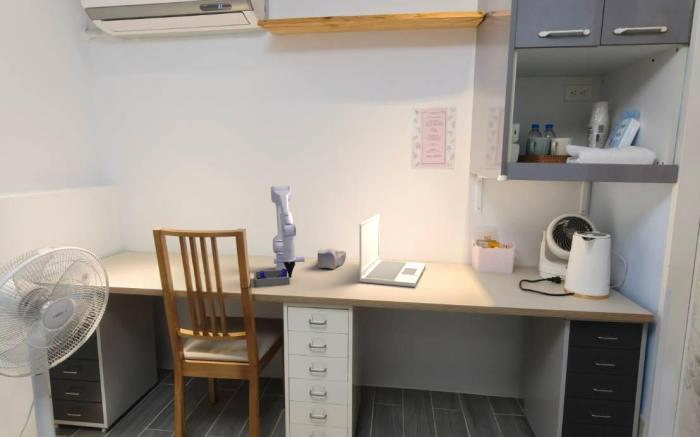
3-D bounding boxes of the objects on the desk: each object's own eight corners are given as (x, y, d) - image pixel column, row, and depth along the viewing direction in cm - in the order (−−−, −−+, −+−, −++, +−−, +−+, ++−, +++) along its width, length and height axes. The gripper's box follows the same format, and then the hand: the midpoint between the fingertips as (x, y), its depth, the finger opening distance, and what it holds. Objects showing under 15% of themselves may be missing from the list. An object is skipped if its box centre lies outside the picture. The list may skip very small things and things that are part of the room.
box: (254, 278, 195) (253, 271, 194) (287, 275, 198) (287, 269, 198) (254, 287, 181) (253, 279, 181) (289, 284, 185) (289, 277, 184)
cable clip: (285, 279, 192) (284, 267, 191) (287, 282, 188) (286, 270, 187) (259, 282, 188) (259, 270, 187) (261, 285, 184) (260, 272, 183)
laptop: (415, 288, 179) (416, 226, 175) (358, 283, 187) (358, 223, 183) (425, 268, 212) (426, 215, 208) (377, 264, 220) (377, 213, 216)
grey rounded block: (314, 249, 208) (324, 242, 227) (315, 269, 209) (325, 261, 229) (339, 250, 205) (347, 243, 225) (339, 270, 206) (347, 262, 226)
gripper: (274, 252, 184) (275, 280, 186) (305, 250, 188) (305, 278, 190) (273, 249, 191) (274, 276, 193) (303, 247, 194) (304, 274, 196)
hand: (289, 277), depth 192 cm, fingers closed
